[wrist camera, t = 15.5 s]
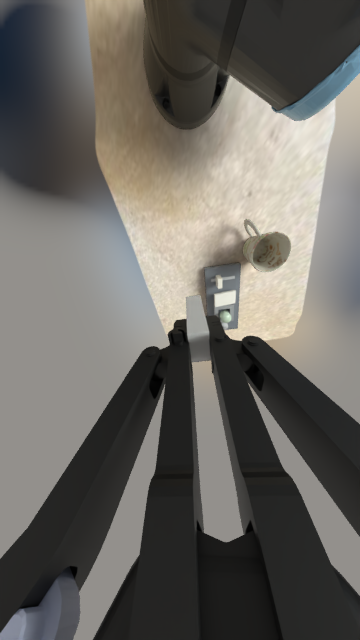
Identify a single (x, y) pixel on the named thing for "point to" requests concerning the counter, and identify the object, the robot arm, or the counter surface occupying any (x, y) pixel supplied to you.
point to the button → (225, 316)
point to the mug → (266, 248)
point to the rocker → (224, 298)
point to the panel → (229, 282)
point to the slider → (218, 281)
